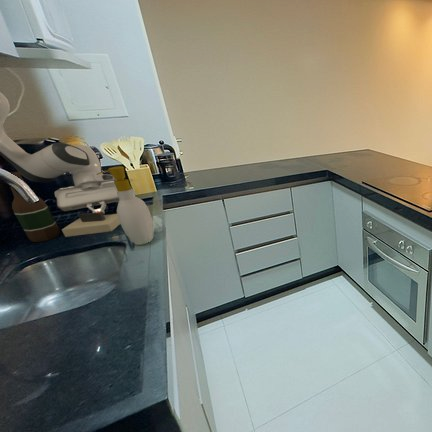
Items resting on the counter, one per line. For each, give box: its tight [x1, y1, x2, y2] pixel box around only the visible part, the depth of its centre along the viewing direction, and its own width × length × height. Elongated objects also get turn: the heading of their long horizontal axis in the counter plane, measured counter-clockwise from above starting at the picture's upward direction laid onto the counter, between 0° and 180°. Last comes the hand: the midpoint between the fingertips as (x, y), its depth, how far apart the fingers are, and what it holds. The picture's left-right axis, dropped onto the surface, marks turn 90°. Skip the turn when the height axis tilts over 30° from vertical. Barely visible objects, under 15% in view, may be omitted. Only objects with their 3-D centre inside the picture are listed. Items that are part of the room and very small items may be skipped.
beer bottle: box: [9, 171, 61, 243], centre depth 101 cm, size 8×8×24 cm
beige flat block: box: [61, 213, 121, 238], centre depth 112 cm, size 14×11×3 cm
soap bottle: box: [97, 165, 154, 246], centre depth 98 cm, size 14×9×26 cm, turn 34°
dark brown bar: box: [78, 212, 105, 222], centre depth 111 cm, size 7×1×3 cm, turn 99°
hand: (99, 214), depth 113 cm, fingers closed
